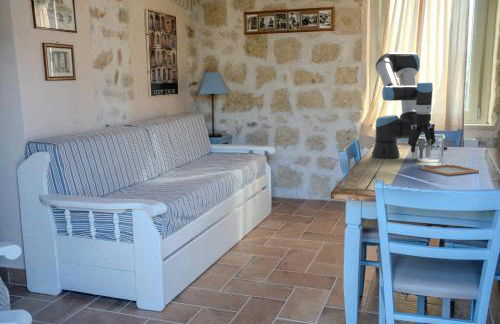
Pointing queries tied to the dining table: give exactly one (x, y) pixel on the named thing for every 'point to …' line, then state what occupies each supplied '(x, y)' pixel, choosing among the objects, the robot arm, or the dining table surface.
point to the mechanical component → (422, 146)
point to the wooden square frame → (449, 169)
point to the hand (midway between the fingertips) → (420, 157)
